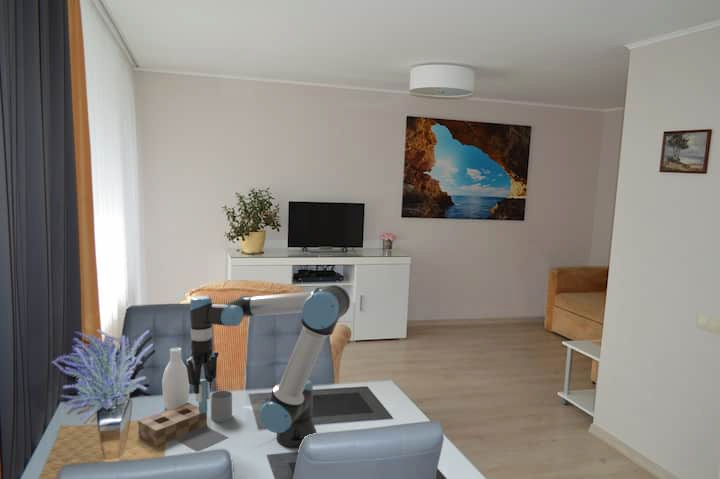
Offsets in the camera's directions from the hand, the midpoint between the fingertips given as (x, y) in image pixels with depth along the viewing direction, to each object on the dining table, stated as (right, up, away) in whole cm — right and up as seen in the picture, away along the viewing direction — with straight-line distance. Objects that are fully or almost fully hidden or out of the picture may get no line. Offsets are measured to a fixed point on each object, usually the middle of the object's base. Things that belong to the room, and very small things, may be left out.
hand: (202, 399), depth 201 cm
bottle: (-20, -12, +29) cm, 37 cm away
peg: (0, -5, 0) cm, 5 cm away
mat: (-1, -16, +2) cm, 16 cm away
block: (-14, -14, +8) cm, 22 cm away
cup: (+2, -14, +20) cm, 24 cm away
